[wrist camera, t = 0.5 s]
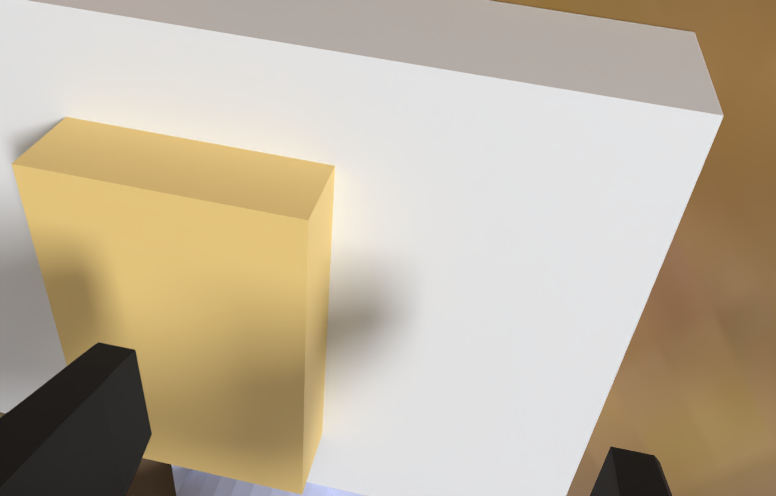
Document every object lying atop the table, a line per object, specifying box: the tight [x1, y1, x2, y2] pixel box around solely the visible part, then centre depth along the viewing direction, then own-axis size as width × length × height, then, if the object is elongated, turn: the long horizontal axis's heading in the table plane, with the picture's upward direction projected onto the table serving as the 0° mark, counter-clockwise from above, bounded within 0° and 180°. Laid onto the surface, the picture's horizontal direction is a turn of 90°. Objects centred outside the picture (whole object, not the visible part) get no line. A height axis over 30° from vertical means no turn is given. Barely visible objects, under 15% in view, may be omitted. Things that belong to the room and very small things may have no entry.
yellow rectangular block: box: [12, 117, 335, 495], centre depth 18 cm, size 9×6×2 cm, turn 175°
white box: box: [0, 0, 724, 496], centre depth 20 cm, size 14×22×4 cm, turn 85°
